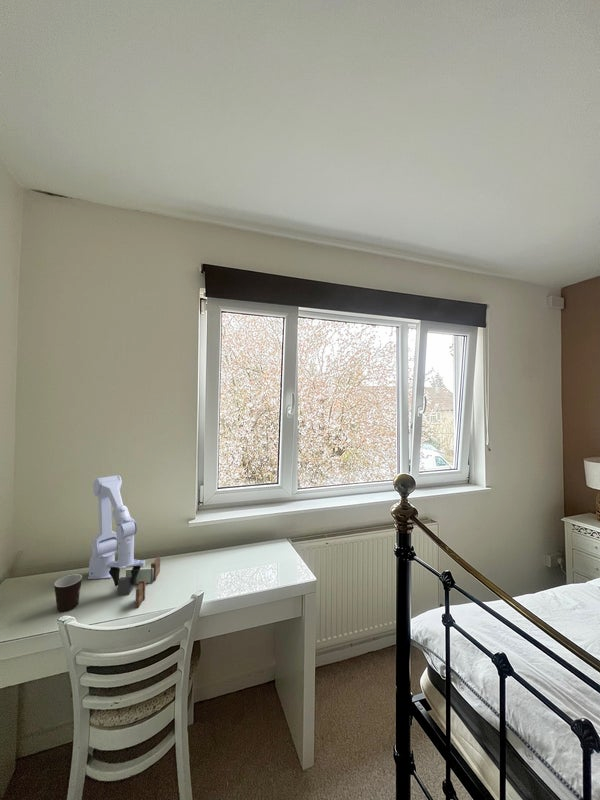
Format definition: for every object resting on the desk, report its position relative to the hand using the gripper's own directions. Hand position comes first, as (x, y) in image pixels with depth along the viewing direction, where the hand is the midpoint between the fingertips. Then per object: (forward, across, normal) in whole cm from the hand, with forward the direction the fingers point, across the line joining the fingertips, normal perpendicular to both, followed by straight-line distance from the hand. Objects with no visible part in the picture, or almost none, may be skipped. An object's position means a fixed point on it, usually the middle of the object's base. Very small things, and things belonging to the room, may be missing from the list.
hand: (125, 584), depth 130 cm
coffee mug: (+3, -18, -6) cm, 19 cm away
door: (+3, +3, +6) cm, 8 cm away
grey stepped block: (+3, 0, +2) cm, 4 cm away
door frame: (+3, +8, +2) cm, 9 cm away
